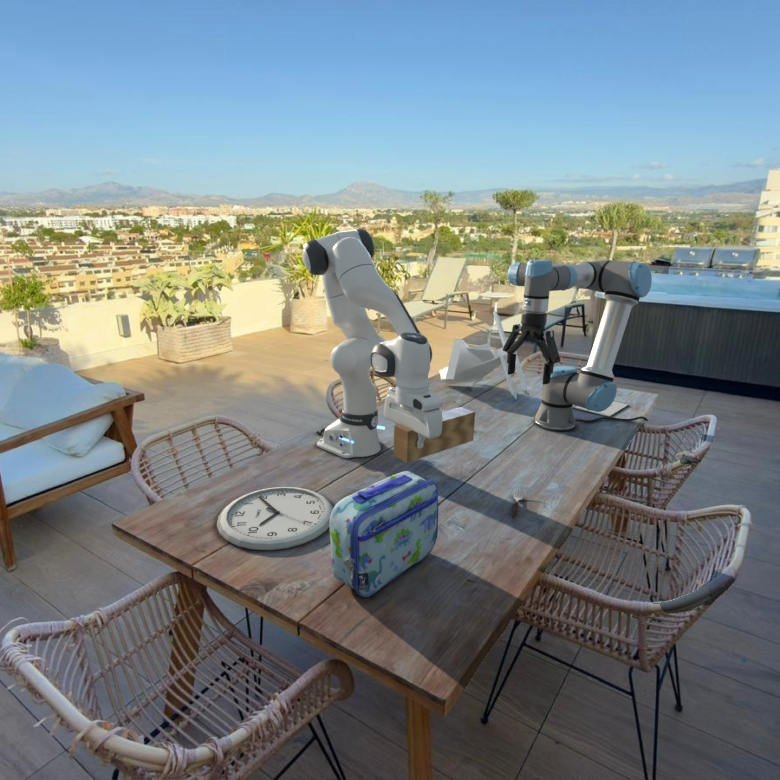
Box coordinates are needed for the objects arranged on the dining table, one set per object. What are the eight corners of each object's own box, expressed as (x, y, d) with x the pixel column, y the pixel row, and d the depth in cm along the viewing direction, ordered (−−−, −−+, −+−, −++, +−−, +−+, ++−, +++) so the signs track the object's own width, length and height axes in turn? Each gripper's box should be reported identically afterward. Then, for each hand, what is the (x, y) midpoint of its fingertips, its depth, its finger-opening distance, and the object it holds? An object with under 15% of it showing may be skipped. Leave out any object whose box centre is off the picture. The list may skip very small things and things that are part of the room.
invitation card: (608, 416, 214) (573, 407, 224) (608, 416, 214) (573, 408, 224) (628, 404, 229) (594, 396, 238) (628, 405, 229) (594, 397, 238)
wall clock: (333, 542, 123) (202, 546, 121) (333, 547, 124) (203, 552, 121) (335, 482, 152) (229, 485, 149) (335, 487, 152) (230, 490, 150)
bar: (459, 434, 158) (461, 406, 156) (473, 440, 154) (475, 412, 152) (393, 455, 143) (394, 425, 141) (406, 462, 139) (407, 431, 136)
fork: (507, 519, 137) (507, 512, 137) (515, 491, 152) (515, 485, 151) (517, 521, 136) (518, 514, 136) (524, 493, 151) (524, 487, 150)
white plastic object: (461, 429, 252) (437, 405, 227) (444, 352, 274) (420, 323, 250) (535, 404, 240) (518, 377, 215) (510, 326, 262) (492, 293, 237)
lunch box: (357, 610, 104) (357, 517, 98) (324, 584, 111) (322, 496, 105) (442, 556, 121) (446, 474, 115) (408, 536, 129) (411, 459, 122)
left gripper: (378, 387, 144) (378, 433, 148) (429, 407, 129) (426, 458, 133) (396, 383, 148) (395, 429, 152) (447, 402, 132) (444, 452, 136)
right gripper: (495, 307, 167) (490, 371, 173) (562, 318, 148) (554, 390, 155) (510, 305, 171) (505, 368, 178) (577, 316, 153) (569, 385, 159)
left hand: (410, 443), depth 142 cm, fingers closed on bar, 6 cm apart
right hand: (527, 378), depth 166 cm, fingers open, 13 cm apart
